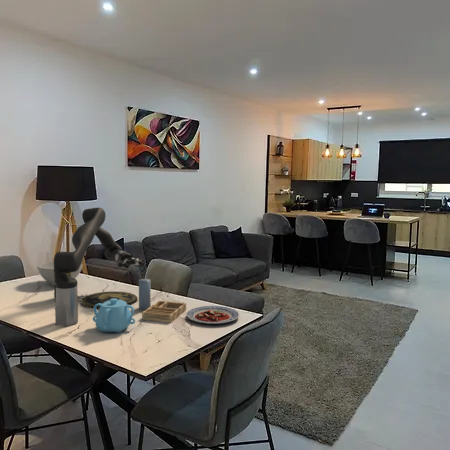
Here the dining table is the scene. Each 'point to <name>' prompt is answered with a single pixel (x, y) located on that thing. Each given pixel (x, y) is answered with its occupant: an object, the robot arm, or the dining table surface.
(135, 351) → the dining table surface
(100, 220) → the robot arm
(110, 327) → the decorative pot
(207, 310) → the ceramic plate
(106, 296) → the decorative plate
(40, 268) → the decorative bowl
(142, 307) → the pale blue cylinder
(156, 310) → the wooden compartment tray
